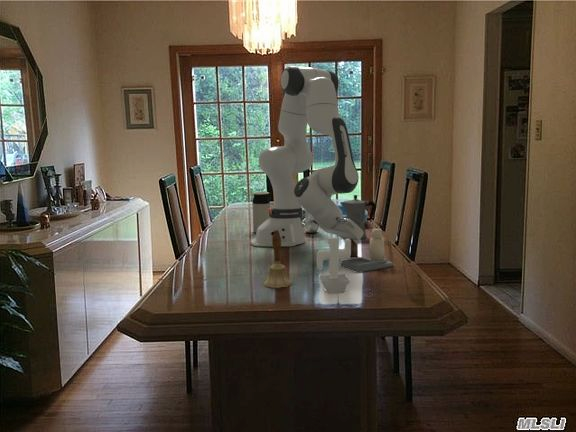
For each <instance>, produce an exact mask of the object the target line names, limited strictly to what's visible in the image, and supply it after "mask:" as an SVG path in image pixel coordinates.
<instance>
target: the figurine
mask: <svg viewBox="0 0 576 432" xmlns="http://www.w3.org/2000/svg"><path fill="white" fill-rule="evenodd" d="M339 238H340V237H339V236H338V237H337V236H332V237H328V240H327V241H328V243H327V244H328V249H319V250H317V252H316V269H317V270H319V271H322V270H323V268H324V267H323V266H324V265H323V264H324V261H328V260H329V262H328V263H329V264H328V265H329V266H328V267H329V272H328V274H319V275H318V277H319V278H320V281H321V283H322V286H323V288H324V290H325V289H326V290H325V291H326V293H327V294H342V293H344V292H345V291H346V289H347V287H348V285H349V284H350V281H351V280H350V279H349V278H348V276H347V275H346V274H345V273H339V266H340V265H339V260H347V259H351V258H350V256H351V240H350V239H348V238H347V239H345V241H344V248H339V245H340V239H339Z"/></svg>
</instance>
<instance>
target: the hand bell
mask: <svg viewBox="0 0 576 432" xmlns="http://www.w3.org/2000/svg"><path fill="white" fill-rule="evenodd" d="M272 245H273V246H272V248H273V253H274V263H273V264H272V265H270V266H269V271H268V272H269V273H268V276H267V279H266V280H264V282H263V286H264V287H266V288H269V287H271V288H270V289H280V288H279V287H285V288H288V286H289V287H291V286H292V285H293V283H292V280H290V278H289V277H288V274H287V270H286V266H285V265H283V264H282V263H281V248H282V246H281V237H280V234H279V231H278V230H274V234H273V237H272ZM290 285H291V286H290Z"/></svg>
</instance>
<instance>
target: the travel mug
mask: <svg viewBox="0 0 576 432" xmlns="http://www.w3.org/2000/svg"><path fill="white" fill-rule="evenodd" d="M252 194H253V198H252V199H251V200H252V227H253V228H252V229H253V232H254V233H256V232H257V229H258V227H259V226H260V225H261V224H262V223H264V222H265V221H266V220H267V219H269V218H270V217H269V213H268V209H269V208H271V199H270V198H269V194H270V192H268V191H255V192H254V191H253V192H252Z"/></svg>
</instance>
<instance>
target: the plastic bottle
mask: <svg viewBox="0 0 576 432" xmlns="http://www.w3.org/2000/svg"><path fill="white" fill-rule="evenodd" d="M304 212H305V213H304V214H305V218H304V227H303V229H304V231H305V233H310V234H313V233H317V232H318V231H319V228H320V227H319V226H318V225H317V224H315V223H313V222H312V221H311V219H312V218H313V216H312V215H311V214H310V213H308V212H307V211H306V210H305V209H304Z"/></svg>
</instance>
